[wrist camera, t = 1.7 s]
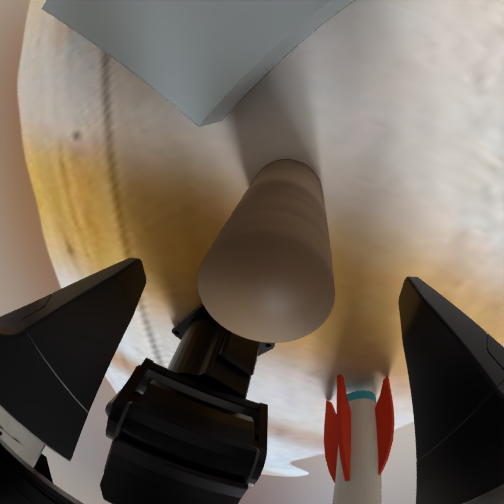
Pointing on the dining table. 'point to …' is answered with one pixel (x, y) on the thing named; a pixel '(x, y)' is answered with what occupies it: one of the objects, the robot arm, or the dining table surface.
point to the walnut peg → (272, 259)
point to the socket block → (197, 43)
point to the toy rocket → (358, 443)
